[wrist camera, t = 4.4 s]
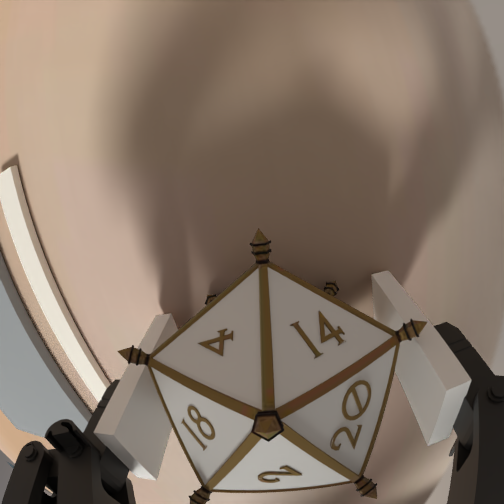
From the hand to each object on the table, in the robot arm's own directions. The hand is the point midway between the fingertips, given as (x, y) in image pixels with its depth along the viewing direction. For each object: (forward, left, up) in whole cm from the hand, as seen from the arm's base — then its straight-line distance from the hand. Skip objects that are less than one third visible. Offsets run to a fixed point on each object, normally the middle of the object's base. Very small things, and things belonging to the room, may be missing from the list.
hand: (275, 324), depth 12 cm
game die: (0, 0, -1) cm, 1 cm away
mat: (0, +21, 0) cm, 21 cm away
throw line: (0, +11, 0) cm, 11 cm away
